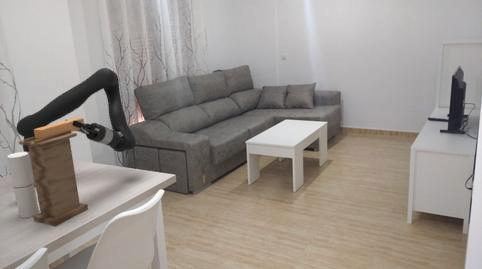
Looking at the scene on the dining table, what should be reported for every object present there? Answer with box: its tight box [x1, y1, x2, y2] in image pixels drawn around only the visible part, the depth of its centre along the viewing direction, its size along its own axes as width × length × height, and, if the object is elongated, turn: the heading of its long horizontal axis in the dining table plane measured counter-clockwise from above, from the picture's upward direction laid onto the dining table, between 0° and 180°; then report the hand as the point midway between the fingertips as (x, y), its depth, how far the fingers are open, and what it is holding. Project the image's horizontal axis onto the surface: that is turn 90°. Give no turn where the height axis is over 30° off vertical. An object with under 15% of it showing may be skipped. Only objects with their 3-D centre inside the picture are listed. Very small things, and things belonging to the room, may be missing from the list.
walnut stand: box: [18, 130, 89, 227], centre depth 158 cm, size 12×16×33 cm
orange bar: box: [34, 117, 85, 140], centre depth 159 cm, size 4×20×4 cm, turn 154°
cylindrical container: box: [7, 151, 40, 219], centre depth 162 cm, size 7×7×25 cm
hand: (69, 122), depth 162 cm, fingers closed on orange bar, 4 cm apart
